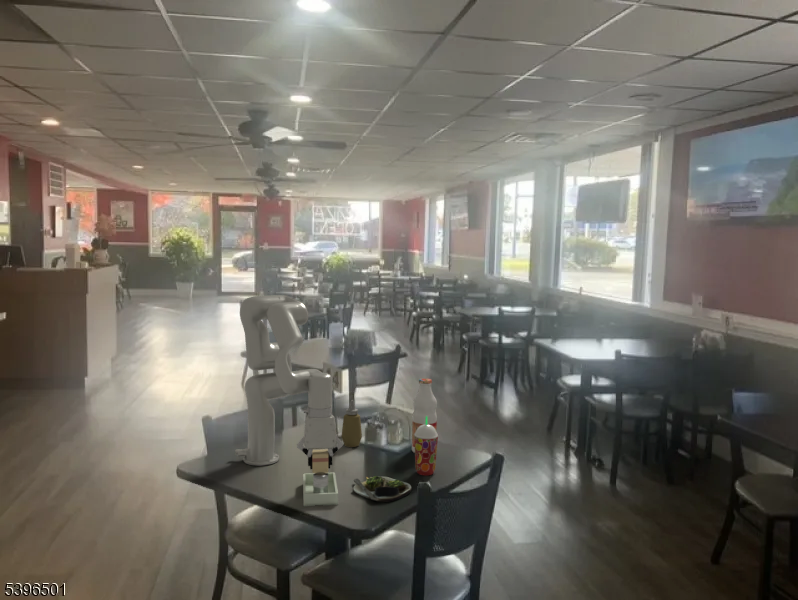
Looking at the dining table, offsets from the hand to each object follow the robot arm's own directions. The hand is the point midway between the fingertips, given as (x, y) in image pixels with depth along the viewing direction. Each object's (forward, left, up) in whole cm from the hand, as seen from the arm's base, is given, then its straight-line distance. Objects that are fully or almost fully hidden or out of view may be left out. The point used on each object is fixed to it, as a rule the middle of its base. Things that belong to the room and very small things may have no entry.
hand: (320, 467), depth 207 cm
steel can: (0, -7, -7) cm, 10 cm away
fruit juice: (+41, +34, -8) cm, 54 cm away
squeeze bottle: (+14, +44, -8) cm, 47 cm away
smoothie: (+37, +11, -8) cm, 39 cm away
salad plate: (+20, -4, -8) cm, 22 cm away
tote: (0, -4, -7) cm, 8 cm away
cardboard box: (0, 0, -1) cm, 1 cm away
